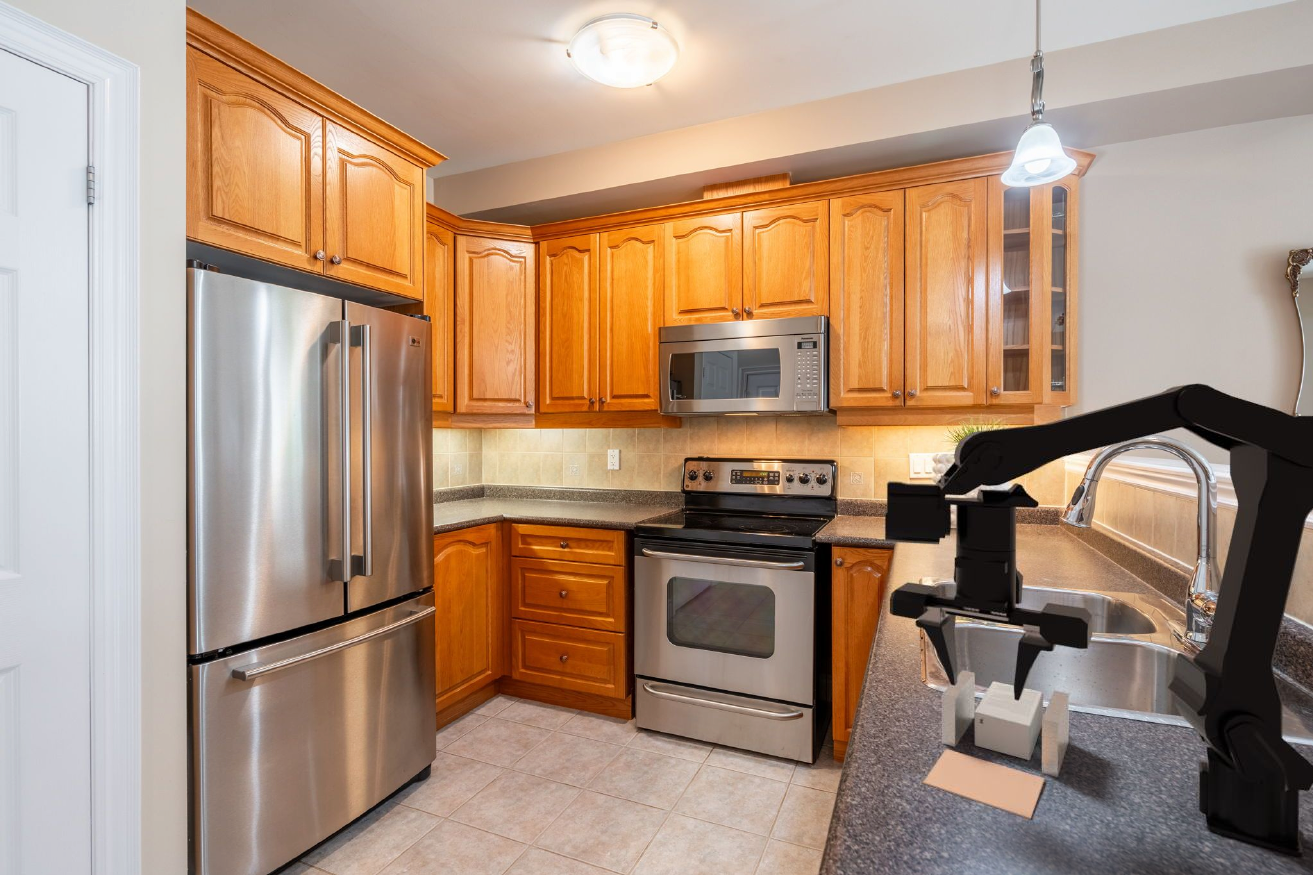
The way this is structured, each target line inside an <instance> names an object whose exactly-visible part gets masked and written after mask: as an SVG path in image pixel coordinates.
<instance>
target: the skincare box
mask: <svg viewBox="0 0 1313 875" xmlns="http://www.w3.org/2000/svg"><path fill="white" fill-rule="evenodd" d="M1043 716H1044V692H1043V691H1039V690H1033V689H1029V688H1025V687H1024V690H1023V692H1022V695H1021V697H1020V699H1019V701H1017V700H1015V699H1014V685H1012V684H1006V683H1002V682H998V681H992V683H991V684H990V686H989V687H988V689H987V691H986V693H985V694H984V696H983V697H982V699H981V701H980V702H979V703H978V705H977V707H976V709H975V712H974V719H973V721H974V745H975V746H976V747H980V748H983V749H986V750H990V751H994V752H998V753H1001V754H1005V755H1008V756H1013V757H1017V758H1019V759H1023V760H1027V761H1030V760H1031V759H1032V755H1033V752H1034V750H1035V747H1036V744H1037V740H1038V737H1039V735H1040V732H1041V730H1042V718H1043Z"/></svg>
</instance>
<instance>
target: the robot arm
mask: <svg viewBox="0 0 1313 875" xmlns="http://www.w3.org/2000/svg"><path fill="white" fill-rule="evenodd" d="M1181 428H1182V429H1183V430H1185V431H1187V432H1189V433H1192V434H1193V435H1194V436H1196V437H1198V438H1199V439H1201V440H1203V441H1205V442H1207V443H1209V444H1211V445H1213V446H1215V447H1218V448H1220V449H1222V450H1225V451H1227V452H1229V476H1230V479H1231V484H1232V486H1233V489H1234V493H1235V497H1236V499H1237V510H1236V516H1235V519H1234V524H1233V528H1232V532H1231V537H1230V543H1229V545H1228V546H1229V547H1228V550H1227V555H1226V559H1225V565H1224V568H1223V573H1222V578H1221V582H1220V585H1219V586H1220V587H1219V589H1218V590H1219V591H1218V595H1217V599H1216V600H1217V601H1216V605H1215V608H1214V614H1213V618H1212V623H1211V625H1210V626H1211V627H1210V631H1209V637H1208V640H1207V641H1206V644H1205V645H1204V647H1203V648H1202V649H1201V650H1200V651H1199V652H1198V653H1197V654H1196V655H1195V656H1194V657H1192V656H1189V655H1187V654H1184V653H1182V652H1178V653H1177V654H1176V658H1175V674H1174V677H1173V680H1172V682H1170V683H1169V685H1168V686H1167V689H1168V690H1169V691H1170V692H1171V693H1172V694H1173V695H1174V705H1175V708H1176V709H1177V711H1178V713H1179V714H1180V715H1181V717H1183V719H1184V720H1185V721H1186V722H1187V723H1188V724H1189V725H1190V726H1191V727H1192V728H1193V729H1195V731H1196V732H1197V735H1198V737H1199V738H1200V740H1201V741H1202V742H1204V743H1206V744H1207V745H1208V746H1206V747H1205V748H1206V749H1205V752H1206V753H1205V754H1206V755H1205V756H1206V757H1205V760H1206V761H1201V760H1200V761H1199V762H1198V768H1197V769H1198V770H1197V771H1198V777H1197V778H1198V779H1197V781H1198V782H1197V783H1198V784H1197V785H1198V786H1197V789H1198V790H1197V792H1198V793H1197V802H1198V811H1199V812H1200V813H1201V814H1202V815H1204V817H1205V819H1204V820H1205V825H1206V828H1207V830H1209V831H1212V832H1214V833H1217V834H1221V835H1225V836H1226V837H1227V836H1228V837H1231V838H1234V839H1238V840H1240V841H1245V842H1248V843H1251V844H1255V845H1257V846H1261V847H1265V848H1268V849H1271V850H1274V851H1278V852H1281V853H1284V854H1288V855H1291V856H1293V857H1295V856H1296V857H1299V858H1303V857H1304V849H1303V847H1302V843H1301V840H1300V791H1304V792H1309V791H1310V790H1311V787H1312V786H1313V764H1312V763H1311V762H1310V761H1308V760H1307V759H1306V758H1305V757H1304V756H1303V754H1301V753H1299V752H1298V751H1297V750H1296V749H1295V748H1294V747H1293V746H1292V745H1291V744H1289V743H1288V742H1287V741H1286V739H1284V738H1283V725H1284V724H1283V715H1284V714H1283V701H1282V697H1281V694H1280V690H1279V687H1278V682H1277V678H1276V676H1275V672H1274V659H1275V655H1276V650H1277V646H1278V642H1279V637H1280V634H1281V629H1282V625H1283V621H1284V615H1285V610H1286V607H1287V603H1288V598H1289V594H1290V591H1291V590H1290V589H1291V585H1292V582H1293V581H1292V580H1293V576H1294V573H1295V568H1296V563H1297V560H1298V557H1299V556H1298V554H1299V551H1300V546H1301V542H1302V539H1303V533H1304V530H1305V526H1306V521H1307V518H1308V516H1309V515H1310V513H1311V512H1313V415H1291V414H1289V413H1287V412H1285V411H1281V410H1279V409H1276V408H1272V407H1270V406H1266V405H1264V404H1259V403H1256V402H1252V401H1249V400H1246V399H1244V398H1239V397H1237V396H1233V395H1230V394H1227V393H1226V392H1223V391H1220V390H1218V389H1215V388H1213V386H1210V385H1208V384H1204V383H1203V384H1202V383H1193V384H1192V383H1191V384H1185V385H1184V384H1183V385H1176V386H1172V387H1170V388H1167V389H1166V390H1163V391H1162V392H1158V393H1155V394H1152V395H1148V396H1145V397H1140V398H1137V399H1133V400H1129V401H1125V402H1122V403H1118V404H1115V405H1110V406H1106V407H1103V408H1099V409H1095V410H1093V411H1089V412H1084V413H1081V414H1077V415H1073V416H1069V417H1065V418H1062V419H1058V420H1054V421H1050V422H1047V423H1043V424H1036V425H1035V424H1034V425H1025V426H1024V425H1023V426H1015V427H1005V428H998V429H996V428H995V429H987V430H979V431H978V430H977V431H973V432H970V433H969V434H967V435H965V436H963V437H962V438H961V439H960V440H959V442H958V443H957V445H956V447H955V449H954V453H953V454H954V455H953V458H954V461H953V463H952V464H951V465H950V466H949V468H947V470H946V471H945V472H944V473H943V474H942V475H940V477H939V480H938V481H936V483H908V482H907V483H906V482H902V481H890V480H889V481H888V482H886V507H884V542H885V543H887V542H888V543H900V544H901V543H903V544H923V545H926V544H927V545H940V540H941V539H946V536H947V537H950V536H951V530H952V528H951V527H952V511H951V510H952V509H951V508H952V506H955V507H956V508H955V510H956V511H955V514H956V515H955V516H956V517H955V523H956V524H955V525H956V526H955V528H956V529H955V530H956V531H955V535H956V536H955V537H956V538H955V557H954V569H953V582H954V583H955V595H954V596H953V597H952V596H946V595H945V596H944V595H940V590H939V588H938V586H935V585H928V584H923V583H922V584H921V583H914V582H906V583H904V584H902V585H901V586H899V587H898V588H896V589H895V590H893V591H892V592H891V594H890V596H889V614H890V615H892V616H896V617H900V618H907V619H912V620H915V622H914V623H915V627H916V628H917V627H918V628H920V629H923V630H924V632H925V633H926V635H927V637H928V639H929V641H930V642H931V644H932V646H933V647H934V649H935V651H936V653H937V656H938V657H939V660H940V662H941V664H942V667H943V669H944V671H945V674H946V676H947V679H948V681H949V684H951V685H954V686H955V685H956V684H957V676H958V675H959V674H958V671H959V670H958V669H959V668H958V656H957V647H956V646H957V645H956V635H955V634H956V633H955V629H956V620H957V619H956V618H957V617H962V618H969V619H973V620H979V621H985V622H991V623H997V624H1003V625H1009V626H1015V627H1020V628H1022V629H1023V630H1022V631H1023V632H1024V633H1023V634H1022V636H1021V638H1020V639H1019V640H1018V645H1017V653H1016V663H1015V672H1014V682H1013V686H1014V699H1015V700H1017V701H1019V699H1020V697H1021V695H1022V692H1023V690H1024V688H1025V687H1026V684H1027V683H1028V679H1029V677H1030V674H1031V671H1032V669H1033V666H1034V663H1035V661H1036V660H1037V657H1038V656H1039V654H1040V653H1041V652H1053V651H1054V650H1055V649H1056V647H1057V646H1061V647H1067V648H1072V649H1079V650H1087V649H1088V648H1089V646H1090V643H1091V640H1092V637H1093V615H1092V614H1091V612H1089V610H1088V609H1087V608H1086V607H1079V606H1074V605H1073V606H1072V605H1065V604H1058V603H1054V602H1053V603H1051V602H1047V603H1046V604H1045V605H1044V607H1043V608H1042V610H1035V609H1029V608H1023V607H1016V605H1020V604H1022V601H1023V600H1022V599H1023V582H1024V576H1023V574H1022V573H1021V572H1020V571H1019V570H1018V569H1017V550H1016V549H1017V508H1027V509H1028V508H1032V509H1035V508H1038V507H1039V501H1037V500H1036V499H1034V498H1033V497H1032V496H1031V495H1030V494H1029V493H1028V492H1027V491H1026V490H1025V488H1024V486H1023V485H1022V484H1019V483H1018V482H1016V483H1013V484H1012V485H1011V487H1010V488H1008V489H1007V490H1006V489H1004V490H1003V489H979V490H978V491H977V494H976V497H950V496H965V495H967V494H969V493H970V492H973V491H974V490H975V489H976V490H977V489H978V488H980V487H981V486H986V487H994V486H1001V485H1005V484H1006V483H1008V482H1011V481H1013V480H1016V479H1018V478H1020V477H1023V476H1025V475H1028V474H1029V473H1032V472H1035V471H1037V470H1038V469H1040V468H1042V467H1044V466H1046V465H1048V464H1050V463H1052V462H1054V461H1056V460H1059V459H1061V458H1064V457H1068V456H1073V455H1076V454H1080V453H1084V452H1088V451H1089V452H1090V451H1093V450H1097V449H1101V448H1103V447H1104V448H1105V447H1108V446H1112V445H1116V444H1121V443H1124V442H1128V441H1131V440H1136V439H1139V438H1144V437H1148V436H1153V435H1156V434H1157V435H1158V434H1160V433H1165V432H1168V431H1173V430H1176V429H1181ZM947 496H949V497H947Z"/></svg>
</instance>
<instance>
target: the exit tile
mask: <svg viewBox="0 0 1313 875" xmlns="http://www.w3.org/2000/svg"><path fill="white" fill-rule="evenodd" d="M922 782H923V783H922V784H924V785H926V786H930V787H933V788H936V789H938V790H942V791H945V792H948V793H951V794H954V795H956V796H960V797H963V798H965V799H968V800H970V801H974V802H977V803H980V804H983V805H986V806H990V807H992V808H996V809H999V810H1000V811H1004V812H1007V813H1010V814H1014V815H1016V816H1019V817H1023V818H1025V819H1028V820H1032V817H1033V815H1034V811H1035V808H1036V805H1037V804H1038V799H1039V797H1040V796H1041V791H1042V790H1043V786H1044V783H1045V778H1044V777H1042V776H1038V775H1035V774H1032V773H1027V772H1024V771H1021V770H1018V769H1015V768H1011V767H1008V766H1004V765H1001V764H998V763H994V762H991V761H988V760H984V759H980V758H977V757H975V756H971V755H969V754H968V755H967V754H965V753H960V752H958V751H957V752H956V751H954V750H951V749H949V748H946V749H945V750H944V751H943V753H942V754H941V756H940V757H939V759H938V760H937V761H936V763H935V764H934V766H933V767H932V768H931V770H930V771H929V773H928V775H927V776H926V778H925V779H924V780H923V781H922Z"/></svg>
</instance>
